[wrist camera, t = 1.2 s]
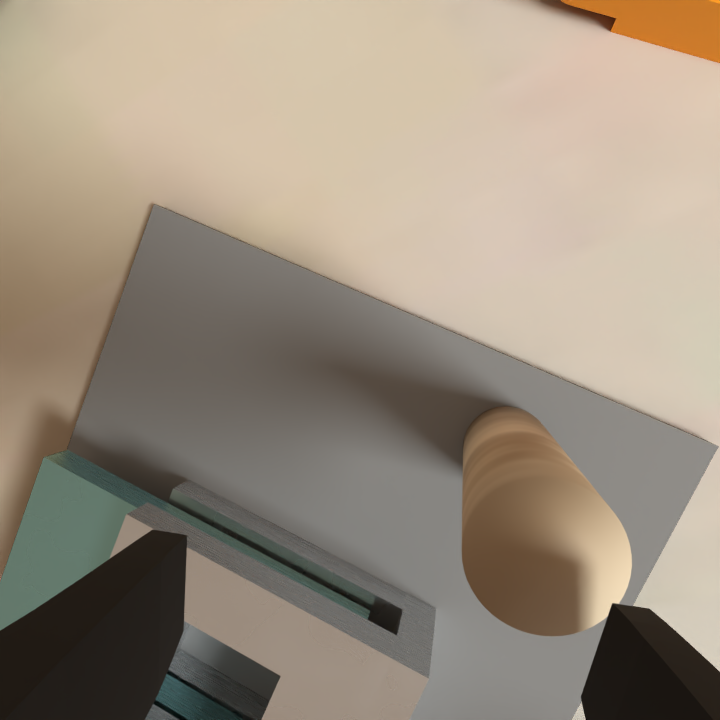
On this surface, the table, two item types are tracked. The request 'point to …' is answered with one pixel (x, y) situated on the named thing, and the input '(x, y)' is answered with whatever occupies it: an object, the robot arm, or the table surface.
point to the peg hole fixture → (232, 599)
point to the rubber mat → (359, 447)
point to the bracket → (665, 23)
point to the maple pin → (537, 529)
